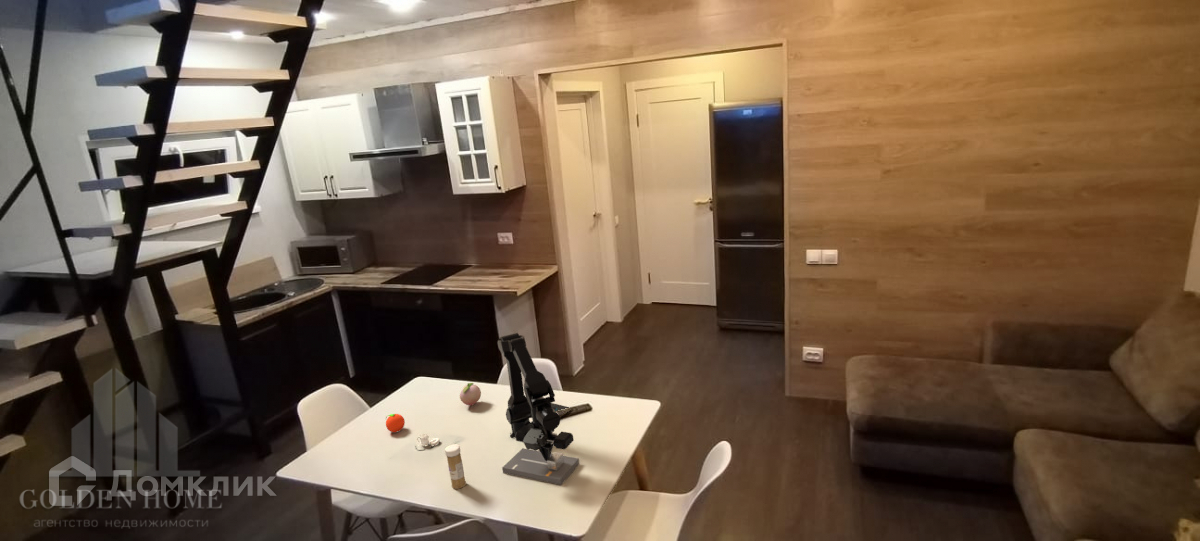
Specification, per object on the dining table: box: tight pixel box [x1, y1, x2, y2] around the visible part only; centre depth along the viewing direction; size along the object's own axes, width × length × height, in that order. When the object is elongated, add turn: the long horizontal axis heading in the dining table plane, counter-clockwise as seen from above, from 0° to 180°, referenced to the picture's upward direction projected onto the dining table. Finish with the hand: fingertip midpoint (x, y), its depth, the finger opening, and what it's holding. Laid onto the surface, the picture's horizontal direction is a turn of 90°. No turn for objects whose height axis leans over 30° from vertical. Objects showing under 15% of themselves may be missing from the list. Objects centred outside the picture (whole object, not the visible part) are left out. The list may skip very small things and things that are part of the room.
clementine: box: [385, 413, 406, 433], centre depth 224 cm, size 8×7×7 cm
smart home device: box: [551, 402, 570, 411], centre depth 228 cm, size 8×2×20 cm
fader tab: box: [547, 451, 564, 470], centre depth 185 cm, size 3×5×3 cm, turn 153°
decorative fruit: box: [459, 382, 482, 406], centre depth 238 cm, size 9×8×10 cm
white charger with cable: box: [416, 433, 441, 447], centre depth 211 cm, size 9×8×4 cm
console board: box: [501, 447, 580, 486], centre depth 188 cm, size 22×12×2 cm, turn 63°
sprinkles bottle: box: [444, 443, 467, 490], centre depth 183 cm, size 5×5×14 cm
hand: (547, 460), depth 187 cm, fingers closed
